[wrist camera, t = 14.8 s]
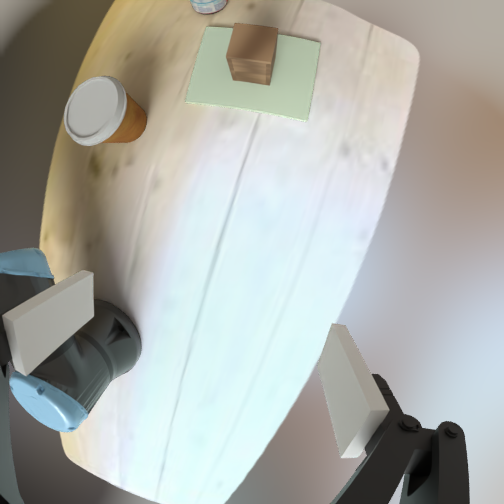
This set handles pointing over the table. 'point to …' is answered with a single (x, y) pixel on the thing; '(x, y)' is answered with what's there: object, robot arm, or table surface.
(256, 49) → the box
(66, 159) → the table surface
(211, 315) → the table surface
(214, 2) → the teal and black cylinder
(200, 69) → the post board
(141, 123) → the disposable coffee cup
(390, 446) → the robot arm
